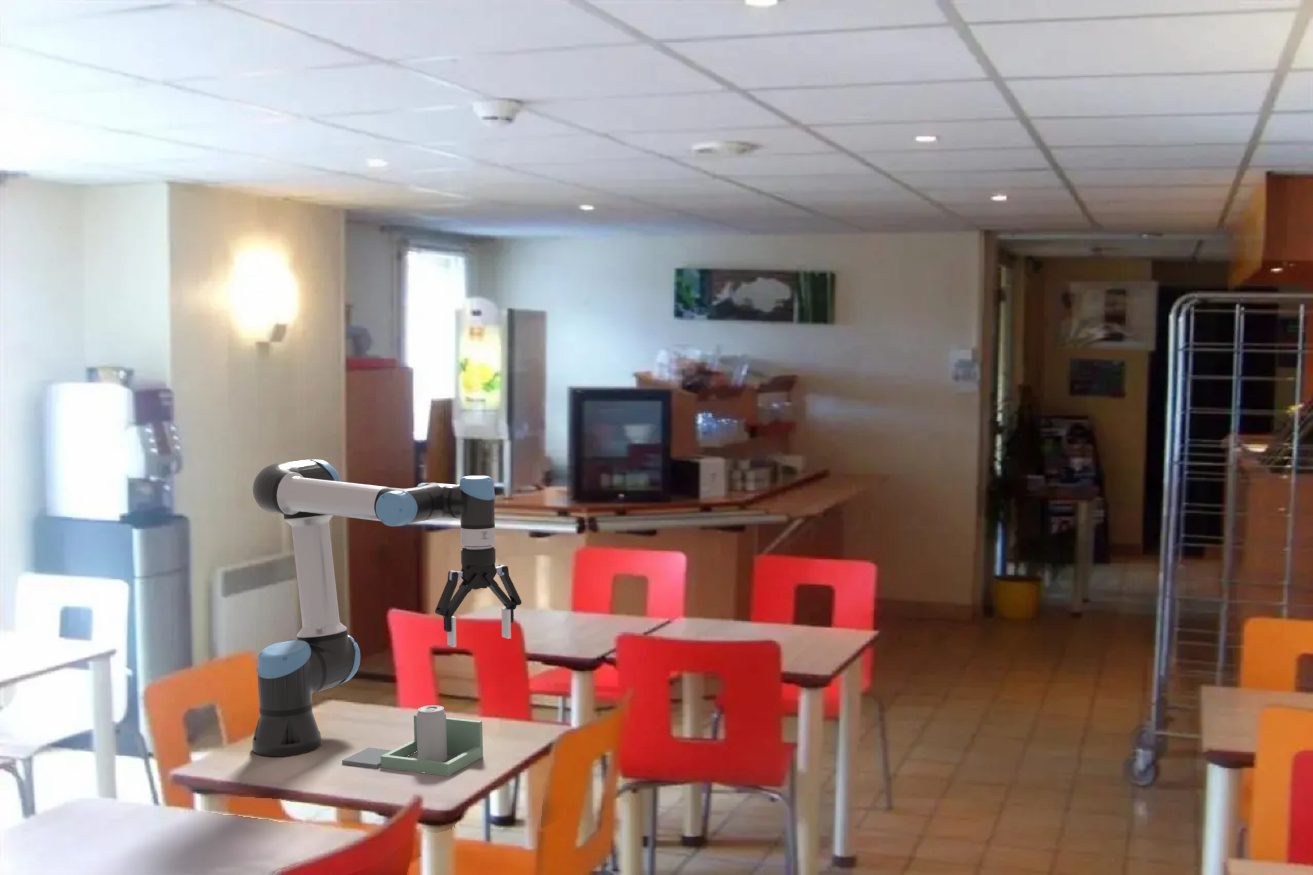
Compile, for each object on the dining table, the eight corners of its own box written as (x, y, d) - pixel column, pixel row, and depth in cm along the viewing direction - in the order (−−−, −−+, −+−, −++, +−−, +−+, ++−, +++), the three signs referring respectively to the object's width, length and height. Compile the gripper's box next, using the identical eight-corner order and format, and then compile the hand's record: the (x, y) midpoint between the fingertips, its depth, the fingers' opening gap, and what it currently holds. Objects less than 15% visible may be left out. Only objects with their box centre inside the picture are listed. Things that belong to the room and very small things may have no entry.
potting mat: (342, 763, 295) (342, 760, 295) (369, 751, 304) (368, 747, 304) (376, 768, 291) (376, 764, 291) (402, 755, 301) (402, 751, 300)
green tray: (380, 767, 292) (379, 731, 291) (417, 748, 305) (416, 714, 305) (448, 776, 285) (447, 738, 285) (483, 756, 298) (482, 721, 298)
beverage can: (450, 757, 298) (449, 704, 297) (443, 766, 292) (441, 712, 291) (422, 757, 299) (420, 704, 298) (414, 766, 292) (412, 712, 292)
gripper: (434, 554, 286) (436, 652, 287) (535, 543, 301) (536, 637, 302) (418, 549, 292) (420, 646, 293) (518, 539, 307) (519, 631, 308)
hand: (479, 642), depth 298 cm, fingers open, 13 cm apart
